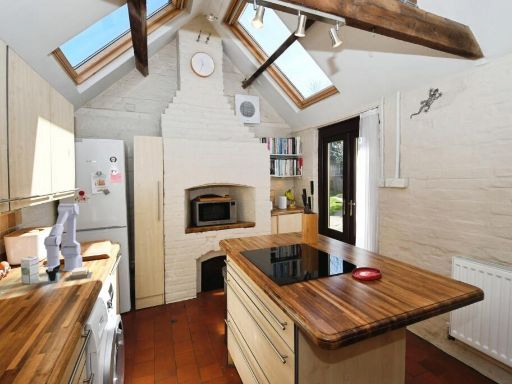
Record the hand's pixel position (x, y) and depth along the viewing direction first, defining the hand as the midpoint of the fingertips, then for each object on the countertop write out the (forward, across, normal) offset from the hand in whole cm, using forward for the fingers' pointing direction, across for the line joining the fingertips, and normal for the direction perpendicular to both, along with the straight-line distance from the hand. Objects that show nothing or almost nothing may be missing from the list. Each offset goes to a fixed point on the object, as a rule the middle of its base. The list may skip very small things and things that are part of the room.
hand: (53, 279), depth 151 cm
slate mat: (+1, -2, +13) cm, 13 cm away
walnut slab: (+1, -2, +13) cm, 13 cm away
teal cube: (+1, 0, 0) cm, 1 cm away
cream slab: (-1, -2, +12) cm, 13 cm away
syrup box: (+2, -5, -12) cm, 13 cm away
